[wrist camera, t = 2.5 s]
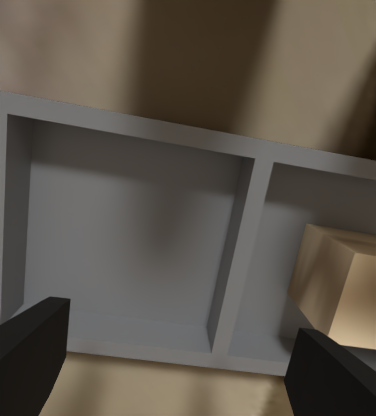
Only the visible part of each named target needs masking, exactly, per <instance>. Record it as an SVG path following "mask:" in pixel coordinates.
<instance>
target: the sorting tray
mask: <svg viewBox="0 0 376 416" xmlns="http://www.w3.org/2000/svg"><path fill="white" fill-rule="evenodd" d="M306 224H311V225H317V226H323V227H330V228H336V229H342V230H348V231H354V232H360V233H366V234H372V235H376V161H374V160H369V159H364V158H358V157H353V156H348V155H342V154H337V153H332V152H326V151H321V150H316V149H310V148H305V147H300V146H294V145H289V144H283V143H278V142H273V141H267V140H262V139H257V138H251V137H246V136H241V135H235V134H230V133H225V132H219V131H214V130H209V129H203V128H198V127H193V126H187V125H182V124H177V123H171V122H166V121H161V120H155V119H150V118H145V117H139V116H134V115H128V114H123V113H118V112H112V111H107V110H102V109H96V108H91V107H86V106H80V105H75V104H70V103H64V102H59V101H54V100H48V99H43V98H38V97H32V96H27V95H22V94H16V93H11V92H6V91H0V325H1V324H2V323H4V322H6V321H8V320H9V319H11V318H13V317H15V316H16V315H18V314H20V313H21V312H23V311H25V310H27V309H28V308H30V307H32V306H33V305H35V304H37V303H39V302H40V301H42V300H44V299H46V298H48V297H50V296H52V297H60V298H68V299H71V302H70V314H69V326H68V338H67V351H71V352H79V353H88V354H97V355H105V356H114V357H123V358H131V359H140V360H149V361H157V362H166V363H175V364H183V365H192V366H201V367H210V368H218V369H227V370H236V371H244V372H253V373H262V374H270V375H279V376H285V375H286V371H287V368H288V364H289V361H290V358H291V354H292V351H293V347H294V344H295V340H296V337H297V333H298V330H299V327H300V328H308V329H315V328H314V327H313V326H312V324H311V323H310V322H309V320H308V319H307V318H306V316H305V315H304V314H303V313H302V311H301V310H300V309H299V307H298V306H297V305H296V303H295V302H294V301H293V299H292V298H291V297H290V295H289V294H288V293H287V291H288V288H289V284H290V280H291V277H292V273H293V270H294V266H295V262H296V259H297V255H298V252H299V248H300V245H301V241H302V237H303V234H304V230H305V227H306ZM341 346H342V347H344V348H345V349H346V350H348V351H349V352H351V353H352V354H353V355H355V356H356V357H357V358H359V359H360V360H361V361H363V362H364V363H365V364H367V365H368V366H369V367H371V368H372V369H373V370H375V371H376V349H369V348H361V347H353V346H345V345H341Z"/></svg>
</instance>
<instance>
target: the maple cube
mask: <svg viewBox="0 0 376 416" xmlns="http://www.w3.org/2000/svg"><path fill="white" fill-rule="evenodd" d="M287 293H288V294H289V295H290V297H291V298H292V299H293V301H294V302H295V303H296V305H297V306H298V307H299V309H300V310H301V311H302V313H303V314H304V315H305V316H306V318H307V319H308V320H309V322H310V323H311V324H312V326H313V327H314V328H315V329H316V330H319V331H320V332H322V333H324V334H325V335H327V336H328V337H330V338H331V339H333V340H334V341H335V342H337V343H338V344H340V345H345V346H353V347H361V348H369V349H376V235H372V234H366V233H360V232H354V231H348V230H342V229H336V228H330V227H323V226H317V225H311V224H306V227H305V230H304V234H303V237H302V241H301V245H300V248H299V252H298V255H297V259H296V262H295V266H294V270H293V273H292V277H291V280H290V284H289V288H288V291H287Z"/></svg>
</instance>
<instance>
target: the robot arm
mask: <svg viewBox="0 0 376 416" xmlns="http://www.w3.org/2000/svg"><path fill="white" fill-rule="evenodd" d="M70 302H71V299H68V298H60V297H52V296H50V297H48V298H46V299H44V300H42V301H40V302H39V303H37V304H35V305H33V306H32V307H30V308H28V309H27V310H25V311H23V312H21V313H20V314H18V315H16V316H15V317H13V318H11V319H9V320H8V321H6V322H4V323H2V324H1V325H0V416H38V415H39V414H40V412H41V410H42V408H43V406H44V404H45V403H46V401H47V399H48V397H49V395H50V393H51V391H52V389H53V387H54V384H55V382H56V380H57V377H58V375H59V372H60V370H61V368H62V365H63V363H64V360H65V358H66V351H67V338H68V326H69V314H70ZM284 383H285V386H286V390H287V394H288V397H289V401H290V404H291V407H292V410H293V413H294V416H376V371H375V370H373V369H372V368H371V367H369V366H368V365H367V364H365V363H364V362H363V361H361V360H360V359H359V358H357V357H356V356H355V355H353V354H352V353H351V352H349V351H348V350H346V349H345V348H344V347H342V346H341V345H340V344H338V343H337V342H335V341H334V340H333V339H331V338H330V337H328V336H327V335H325V334H324V333H322V332H320V331H319V330H316V329H308V328H300V327H299V330H298V333H297V337H296V340H295V344H294V347H293V351H292V354H291V358H290V361H289V364H288V368H287V371H286V375H285V378H284Z"/></svg>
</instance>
